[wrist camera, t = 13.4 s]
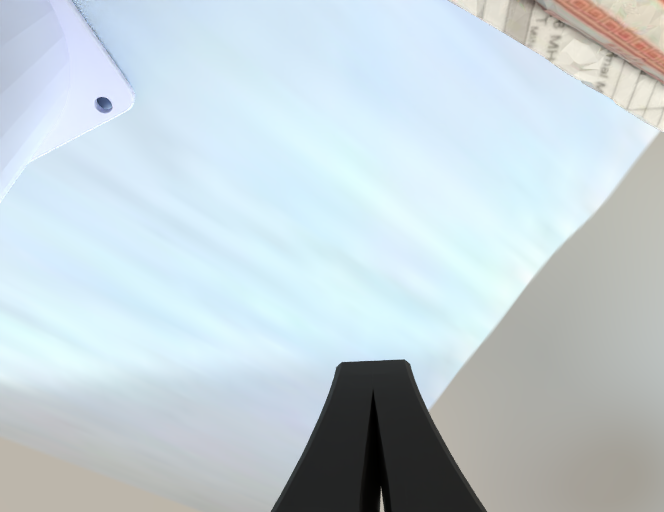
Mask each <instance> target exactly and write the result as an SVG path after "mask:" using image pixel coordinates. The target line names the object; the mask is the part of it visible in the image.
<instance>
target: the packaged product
mask: <svg viewBox="0 0 664 512" xmlns="http://www.w3.org/2000/svg"><path fill="white" fill-rule="evenodd" d="M448 1H450V2H451V3H453V4H455V5H457V6H458V7H460V8H462V9H464V10H465V11H467V12H469V13H471V14H472V15H474V16H476V17H478V18H479V19H481V20H483V21H484V22H486V23H488V24H489V25H491V26H493V27H494V28H496V29H498V30H499V31H501V32H503V33H505V34H506V35H508V36H510V37H511V38H513V39H515V40H516V41H518V42H520V43H521V44H523V45H525V46H526V47H528V48H530V49H531V50H533V51H535V52H536V53H538V54H540V55H542V56H543V57H545V58H546V59H547V60H549V61H550V62H551V63H553V64H554V65H555V66H557V67H558V68H560V69H561V70H562V71H564V72H565V73H567V74H568V75H570V76H572V77H574V78H575V79H578V80H581V82H582V83H583V84H585V85H587V86H588V87H590V88H592V89H594V90H596V91H598V92H600V93H602V94H604V95H605V96H607V97H609V98H611V99H612V100H614V102H615V103H616V104H617V105H618V106H620V107H621V108H623V109H625V110H626V111H628V112H629V113H631V114H632V115H634V116H636V117H637V118H639V119H640V120H642V121H643V122H645V123H647V124H649V125H651V126H653V127H654V128H656V129H658V130H660V131H662V132H664V0H448Z"/></svg>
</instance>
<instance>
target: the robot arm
mask: <svg viewBox="0 0 664 512" xmlns="http://www.w3.org/2000/svg"><path fill="white" fill-rule="evenodd" d="M98 97H105V98H107V99H109V100H110V101H111V103H112V108H111V109H104V108H101V107H100V106H99V105H98V103H97V98H98ZM134 101H135V93H134V91H133V89H132V87H131V85H130V84H129V82H128V81H127V80H126V78H125V77H124V75H123V74H122V72H121V71H120V70H119V68H118V67H117V65H116V64H115V62H114V61H113V59H112V58H111V57H110V55H109V54H108V52H107V51H106V49H105V48H104V47H103V45H102V44H101V42H100V41H99V39H98V38H97V37H96V35H95V34H94V32H93V31H92V29H91V28H90V26H89V25H88V24H87V22H86V21H85V19H84V18H83V16H82V15H81V14H80V12H79V11H78V9H77V8H76V6H75V5H74V3H73V2H72V1H71V0H0V203H1V202H2V200H3V199H4V197H5V196H6V194H7V193H8V192H9V190H10V189H11V187H12V186H13V184H14V183H15V182H16V180H17V179H18V177H19V176H20V174H21V173H22V171H23V170H24V169H25V167H26V166H27V164H28V163H29V162H31V161H33V160H35V159H37V158H39V157H41V156H43V155H45V154H47V153H48V152H50V151H52V150H54V149H56V148H58V147H60V146H62V145H64V144H66V143H68V142H69V141H71V140H73V139H75V138H77V137H79V136H81V135H83V134H85V133H87V132H89V131H91V130H92V129H94V128H96V127H98V126H100V125H102V124H104V123H106V122H108V121H110V120H112V119H113V118H115V117H117V116H119V115H121V114H123V113H125V112H127V111H128V110H129V109H131V108H132V105H133V103H134ZM381 489H382V497H383V504H384V511H385V512H487V511H486V509H485V508H484V506H483V505H482V503H481V502H480V500H479V499H478V497H477V496H476V494H475V493H474V491H473V489H472V488H471V486H470V485H469V483H468V481H467V480H466V478H465V477H464V475H463V474H462V472H461V470H460V469H459V467H458V465H457V464H456V462H455V460H454V458H453V457H452V455H451V453H450V451H449V450H448V448H447V446H446V444H445V442H444V441H443V439H442V437H441V435H440V433H439V431H438V430H437V428H436V426H435V424H434V422H433V420H432V418H431V416H430V414H429V412H428V410H427V408H426V405H425V403H424V401H423V399H422V397H421V394H420V392H419V390H418V387H417V384H416V382H415V379H414V376H413V373H412V370H411V366H410V364H409V363H408V362H407V361H406V360H382V361H359V362H342V363H340V364H339V365H338V366H337V367H336V371H335V375H334V379H333V382H332V385H331V388H330V391H329V394H328V397H327V399H326V402H325V404H324V407H323V409H322V412H321V414H320V417H319V419H318V421H317V423H316V426H315V428H314V430H313V432H312V434H311V436H310V439H309V441H308V443H307V445H306V447H305V449H304V452H303V454H302V456H301V458H300V459H299V461H298V463H297V465H296V467H295V469H294V471H293V473H292V474H291V476H290V478H289V480H288V482H287V484H286V486H285V487H284V489H283V491H282V493H281V495H280V497H279V498H278V500H277V502H276V503H275V505H274V507H273V509H272V510H271V512H380V495H381Z"/></svg>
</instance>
